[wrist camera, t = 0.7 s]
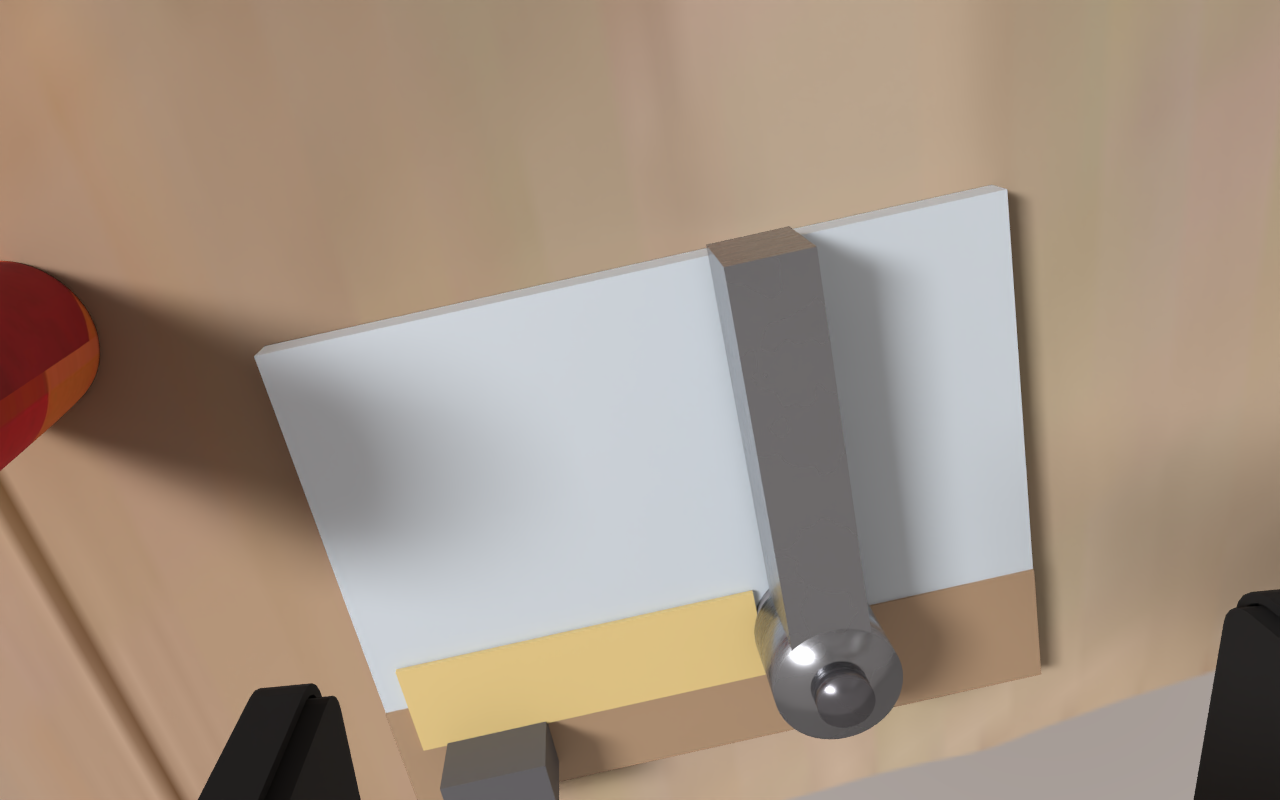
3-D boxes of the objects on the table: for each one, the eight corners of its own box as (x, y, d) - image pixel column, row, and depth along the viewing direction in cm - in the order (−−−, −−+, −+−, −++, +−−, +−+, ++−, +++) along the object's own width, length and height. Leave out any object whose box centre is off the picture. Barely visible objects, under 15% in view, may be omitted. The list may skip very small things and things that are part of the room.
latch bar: (877, 663, 37) (919, 742, 33) (764, 688, 37) (790, 771, 33) (815, 220, 31) (856, 246, 27) (679, 250, 31) (698, 281, 27)
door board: (991, 184, 33) (1047, 200, 29) (1026, 655, 40) (1074, 717, 36) (264, 346, 33) (226, 382, 29) (426, 789, 40) (411, 865, 36)
